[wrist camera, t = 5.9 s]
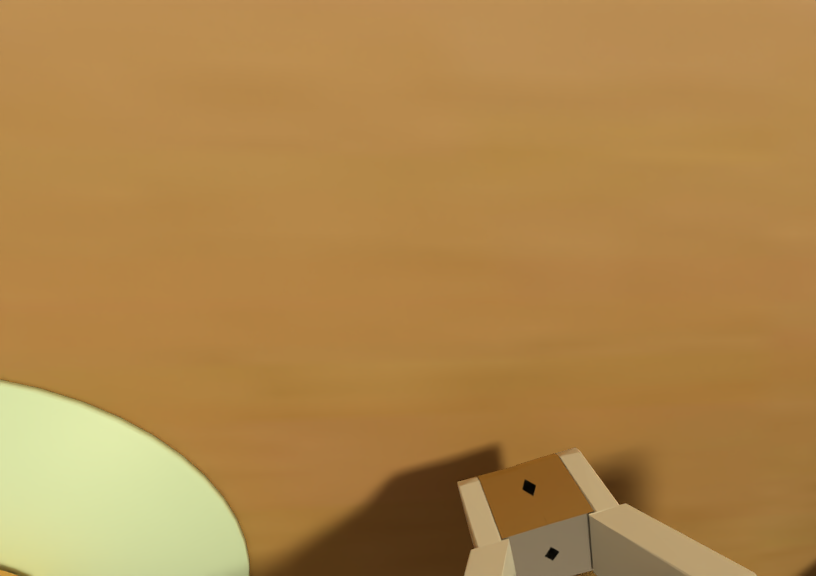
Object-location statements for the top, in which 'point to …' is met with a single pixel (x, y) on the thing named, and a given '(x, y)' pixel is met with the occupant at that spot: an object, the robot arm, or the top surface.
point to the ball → (6, 573)
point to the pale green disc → (104, 497)
